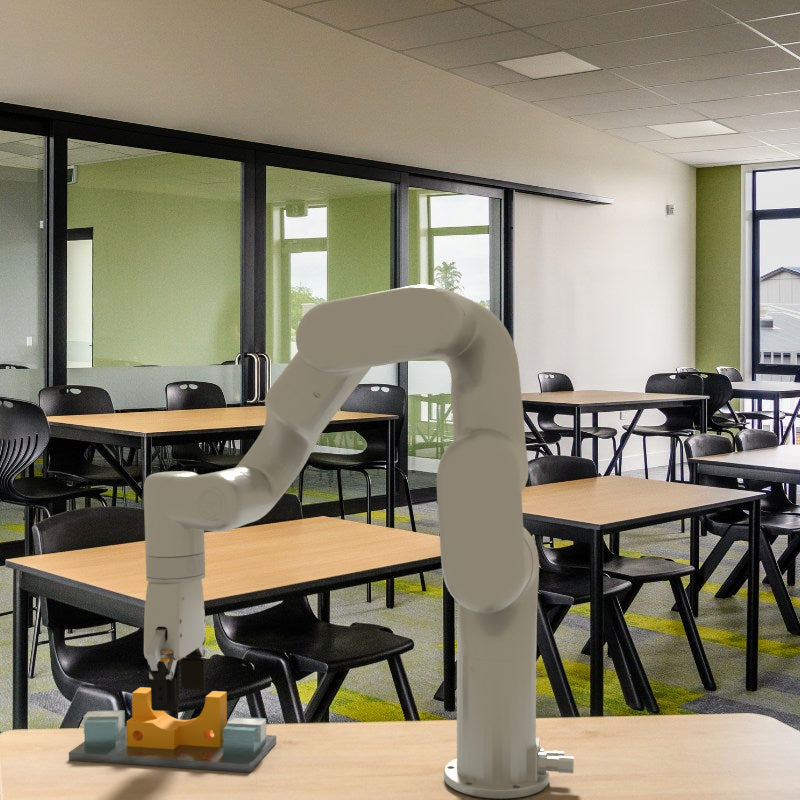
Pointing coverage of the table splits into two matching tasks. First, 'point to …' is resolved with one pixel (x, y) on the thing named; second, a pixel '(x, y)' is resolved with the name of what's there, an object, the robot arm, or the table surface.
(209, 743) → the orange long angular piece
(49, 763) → the table surface
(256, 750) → the workpiece vise
